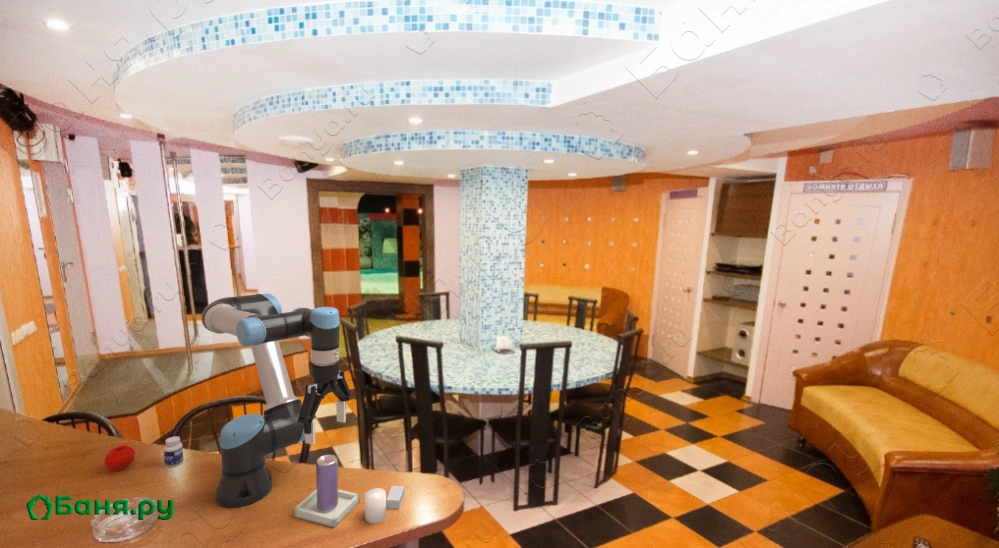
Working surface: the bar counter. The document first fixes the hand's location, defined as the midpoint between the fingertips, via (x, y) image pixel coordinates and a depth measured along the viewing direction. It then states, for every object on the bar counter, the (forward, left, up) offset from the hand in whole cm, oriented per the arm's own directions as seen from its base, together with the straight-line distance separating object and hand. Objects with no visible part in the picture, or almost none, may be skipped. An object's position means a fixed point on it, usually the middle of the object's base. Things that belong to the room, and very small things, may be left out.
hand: (326, 431), depth 128 cm
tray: (0, 0, -24) cm, 24 cm away
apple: (-77, -6, -25) cm, 81 cm away
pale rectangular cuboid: (+17, +10, -25) cm, 32 cm away
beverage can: (0, 0, -24) cm, 24 cm away
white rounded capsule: (+15, +2, -24) cm, 29 cm away
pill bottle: (-64, +2, -25) cm, 69 cm away
